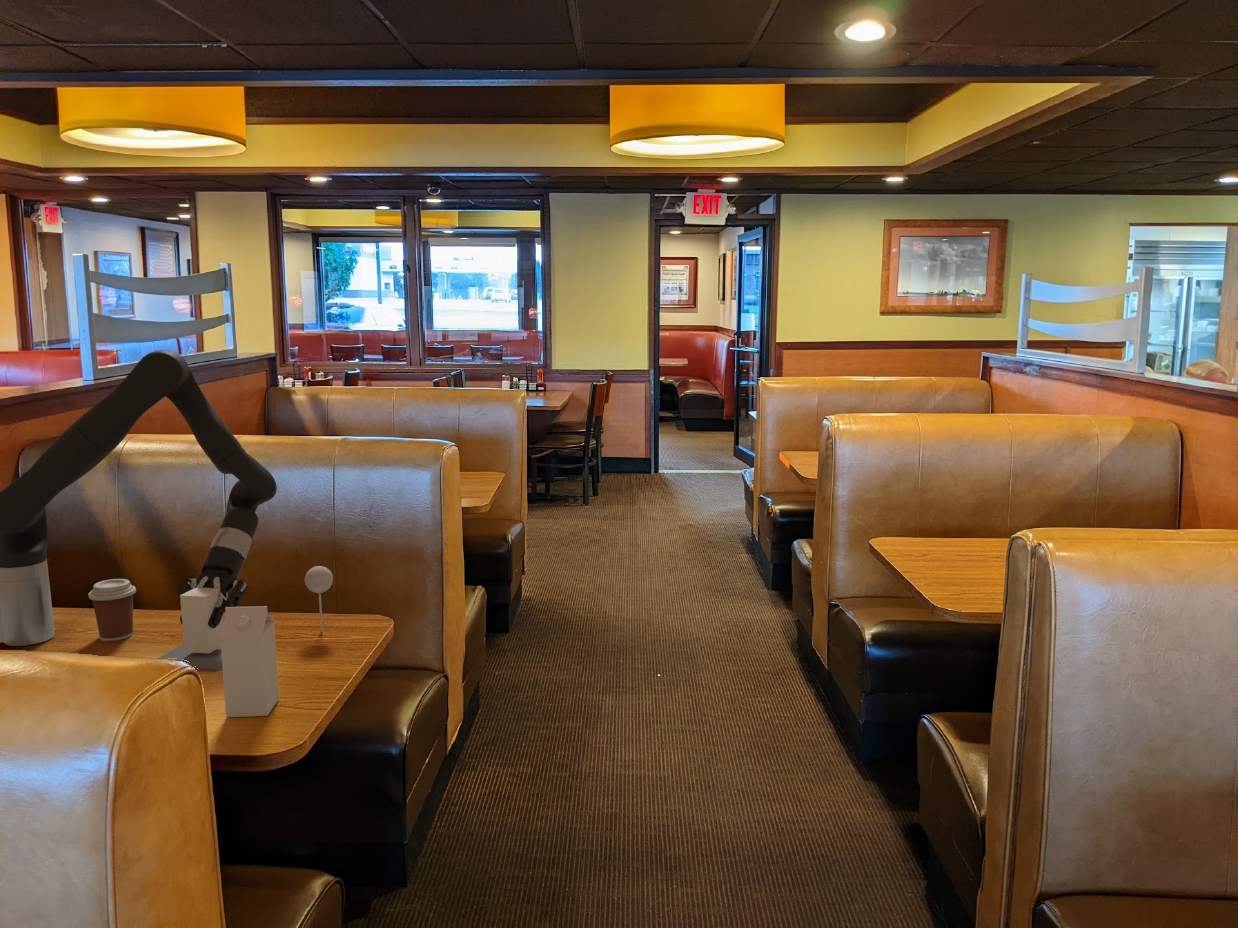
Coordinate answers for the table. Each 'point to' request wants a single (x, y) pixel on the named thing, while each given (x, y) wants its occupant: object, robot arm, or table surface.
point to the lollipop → (319, 583)
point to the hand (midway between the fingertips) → (197, 625)
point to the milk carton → (249, 661)
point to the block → (200, 620)
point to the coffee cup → (113, 608)
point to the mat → (197, 658)
